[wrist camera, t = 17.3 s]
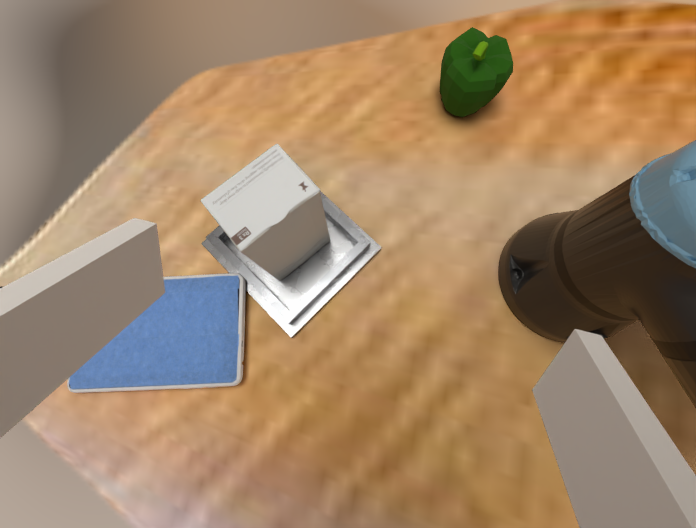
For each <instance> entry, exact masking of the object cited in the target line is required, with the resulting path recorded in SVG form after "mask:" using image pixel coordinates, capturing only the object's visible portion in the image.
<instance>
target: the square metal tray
mask: <svg viewBox="0 0 696 528" xmlns="http://www.w3.org/2000/svg"><path fill="white" fill-rule="evenodd" d="M320 194H321V199H322V203H323V208H324V213H325V218H326V222H327V227H328V231H329V236H330V241H329V242H328V243H327V244H325V245H324V246H323V247H321V248H320V249H319V250H318V251H317V252H316V253H315V254H314V255H312V256H311V257H310V258H309V259H307V260H306V261H305V262H304V263H302V264H301V265H300V266H299V267H297V268H296V269H295V270H294V271H292V272H291V273H290V274H289V275H287V276H286V277H285V278H283V279H282V280H281V281H279V280H277V279H276V278H275V277H273V276H272V275H271V274H269V273H268V272H267V271H265V270H264V269H263V268H261V267H260V266H259V265H257V264H256V263H255V262H253V261H252V260H251V259H249V258H248V257H247V256H245V255H244V254H242V253H241V252H240V251H239V250H238V248H237V247H236V246H235V245H234V243H233V242H232V241H231V239H230V238H229V237H228V236H227V234H226V233H225V232H224V230H223V229H222V228H221V226H220V225H219V226H218V227H217V228H216V229H215V230H214V231H212V232H211V233H210V234H209V235H208V236H207V237H206V238H207V239H206V240H205V241H204V242H202V243H201V244H202V245H203V246H204V247H205V248H206V249H207V250H208V251H209V252H210V253H211V254H212V255H213V256H214V257H215V258H216V259H217V260H218V261H219V262H220V264H221V265H222V266H223V267H224V268H225V269H226V270H227V271H228V272H229V273H239V274H241V275H242V276H243V277H244V278H245V281H246V291H247V292H248V293H249V294H250V295H251V296H252V297H253V298H254V299H255V300H256V301H257V302H258V303H259V304H260V305H261V306H262V308H263V309H264V310H265V311H266V312H267V313H268V314H269V315H270V316H271V317H272V318H273V319H274V320H275V321H276V322H277V323H278V324H279V325H280V326H281V327H282V328H283V330H284V331H285V332H286V333H287V334H288V335H289V336H290V337H291V338H293V337H294V336H295V335H296V334H297V333H298V332H299V331H300V330H301V329H302V328H303V327H304V326H305V325H306V324H307V323H308V322H309V321H310V320H311V319H312V318H313V317H314V316H315V315H316V314H317V313H318V312H319V311H320V310H321V309H322V308H323V307H324V306H325V305H326V304H327V303H328V302H329V301H330V300H331V299H332V298H333V297H334V296H335V295H336V294H337V293H338V292H339V291H340V290H341V289H342V288H343V287H344V286H345V285H346V284H347V283H348V282H349V281H350V280H351V279H352V278H353V277H354V276H355V275H356V274H357V273H358V272H359V271H360V270H361V269H362V268H363V267H364V266H365V265H366V264H367V263H368V262H369V261H370V260H371V259H372V258H373V257H374V256H375V255H376V254H377V253H378V252H379V251H380V250H381V248H382V247H381V246H380V245H378V244H377V243H376V242H375V241H374V240H373V239H372V238H371V237H370V236H369V235H368V234H366V233H365V232H364V231H363V230H362V229H361V228H360V227H359V226H358V225H357V224H356V223H354V222H353V221H352V220H351V219H350V218H349V217H348V216H347V215H346V214H345V213H344V212H343V211H341V210H340V209H339V208H338V207H337V206H336V205H335V204H334V203H333V202H332V201H331V200H329V199H328V198H327V197H326V196H325V195H324V194H323V193H322V192H321V191H320Z"/></svg>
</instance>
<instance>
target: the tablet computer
mask: <svg viewBox="0 0 696 528" xmlns="http://www.w3.org/2000/svg"><path fill="white" fill-rule="evenodd" d="M163 279H164V286H165V293H164V294H163V295H162V296H161V297H160V298H159V299H157V300H156V301H155V302H154V303H153V304H152V305H151V306H149V307H148V308H147V309H146V310H145V311H144V312H143V313H142V314H140V315H139V316H138V317H137V318H136V319H135V320H134V321H132V322H131V323H130V324H129V325H128V326H127V327H126V328H125V329H123V330H122V331H121V332H120V333H119V334H118V335H117V336H116V337H114V338H113V339H112V340H111V341H110V342H109V343H108V344H106V345H105V346H104V347H103V348H102V349H101V350H100V351H99V352H97V353H96V354H95V355H94V356H93V357H92V358H91V359H90V360H88V361H87V362H86V363H85V364H84V365H83V366H82V367H80V368H79V369H78V370H77V371H76V372H75V373H74V374H73V375H71V376H70V377H69V378H68V384H67V386H68V389H69V390H70V391H71V392H74V393H84V392H110V391H134V390H157V389H181V388H183V389H190V388H204V387H210V388H211V387H224V386H236V385H238V384H239V383H240V382H241V380H242V377H243V364H242V362H243V361H244V337H245V290H246V281H245V278H244V277H243V276H242V275H241V274H239V273H228V274H208V275H188V276H169V277H163Z"/></svg>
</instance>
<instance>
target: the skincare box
mask: <svg viewBox="0 0 696 528" xmlns="http://www.w3.org/2000/svg"><path fill="white" fill-rule="evenodd" d="M201 202H202V203H203V204H204V206H205V207H206V208H207V210H208V211H209V212H210V214H211V215H212V216H213V217H214V219H215V220H216V221H217V223H218V224H219V225H220V226H221V228H222V229H223V230H224V232H225V233H226V234H227V236H228V237H229V238H230V239H231V241H232V242H233V243H234V245H235V246H236V247H237V248H238V250H239V251H240V252H241V253H242V254H244V255H245V256H247V257H248V258H249V259H251V260H252V261H253V262H255V263H256V264H257V265H259V266H260V267H261V268H263V269H264V270H265V271H267V272H268V273H269V274H271V275H272V276H273V277H275V278H276V279H277V280H279V281H281V280H282V279H283V278H285V277H286V276H287V275H289V274H290V273H291V272H292V271H294V270H295V269H296V268H297V267H299V266H300V265H301V264H302V263H304V262H305V261H306V260H307V259H309V258H310V257H311V256H312V255H314V254H315V253H316V252H317V251H318V250H319V249H320V248H321V247H323V246H324V245H325V244H327V243H328V242H329V241H330V236H329V231H328V227H327V222H326V218H325V213H324V208H323V203H322V199H321V194H320V189H319V188H318V187H317V186H316V185H315V183H314V182H313V181H312V180H311V179H310V178H309V177H308V176H307V175H306V174H305V172H304V171H303V170H302V169H301V168H300V167H299V166H298V165H297V164H296V163H295V162H294V161H293V160H292V159H291V158H290V156H289V155H288V154H287V153H286V152H285V151H284V150H283V149H282V148H281V147H280V146H279V145H278V144H275V145H274V146H272V147H271V148H270V149H268V150H267V151H266V152H264V153H263V154H262V155H260V156H259V157H258V158H256V159H255V160H254V161H252V162H251V163H250V164H248V165H247V166H246V167H244V168H243V169H242V170H240V171H239V172H237V173H236V174H235V175H233V176H232V177H231V178H229V179H228V180H227V181H225V182H224V183H223V184H221V185H220V186H219V187H217V188H216V189H215V190H213V191H212V192H211V193H209V194H208V195H207V196H205V197H204V198H203V199H201Z"/></svg>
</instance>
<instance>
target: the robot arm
mask: <svg viewBox="0 0 696 528" xmlns="http://www.w3.org/2000/svg"><path fill="white" fill-rule="evenodd" d="M499 282H500V287H501V290H502V293H503V296H504V298H505V300H506V302H507V304H508V306H509V307H510V309H511V310H512V312H513V313H514V314H515V316H516V317H517V318H518V319H519V320H520V321H521V322H522V323H523V324H524V325H526V326H527V327H528V328H530V329H531V330H532V331H534V332H536V333H537V334H539V335H541V336H543V337H546V338H548V339H551V340H555V341H559V342H565V343H564V345H563V346H562V348H561V349H560V351H559V352H558V353H557V355H556V356H555V358H554V359H553V361H552V362H551V364H550V365H549V366H548V368H547V369H546V371H545V372H544V374H543V375H542V376H541V378H540V379H539V381H538V382H537V384H536V385H535V386H534V388H533V389H532V391H533V394H534V397H535V399H536V402H537V405H538V408H539V411H540V414H541V417H542V420H543V423H544V426H545V428H546V431H547V434H548V437H549V440H550V443H551V446H552V449H553V452H554V455H555V457H556V460H557V463H558V466H559V469H560V472H561V475H562V478H563V481H564V483H565V486H566V489H567V492H568V495H569V498H570V501H571V504H572V507H573V510H574V512H575V515H576V518H577V521H578V524H579V527H580V528H696V475H695V474H694V472H693V471H692V469H691V468H690V466H689V465H688V463H687V462H686V460H685V459H684V457H683V456H682V454H681V453H680V451H679V450H678V448H677V447H676V445H675V444H674V442H673V441H672V440H671V438H670V437H669V435H668V434H667V432H666V431H665V429H664V428H663V426H662V425H661V423H660V422H659V420H658V419H657V417H656V416H655V414H654V413H653V411H652V410H651V408H650V407H649V405H648V404H647V402H646V401H645V399H644V398H643V396H642V395H641V393H640V392H639V391H638V389H637V388H636V386H635V385H634V383H633V382H632V380H631V379H630V377H629V376H628V374H627V373H626V371H625V370H624V368H623V367H622V365H621V364H620V362H619V361H618V359H617V358H616V356H615V355H614V353H613V352H612V350H611V349H610V347H609V346H608V344H607V343H606V341H605V340H604V338H607V337H610V336H612V335H614V334H616V333H617V332H619V331H620V330H622V329H624V328H625V327H627V326H629V325H630V324H632V323H634V322H635V321H637V320H640V322H641V323H642V325H643V326H644V328H645V329H646V331H647V332H648V334H649V335H650V337H651V338H652V340H653V341H654V343H655V344H656V346H657V347H658V349H659V350H660V352H661V354H662V356H663V357H664V359H665V361H666V362H667V364H668V365H669V367H670V368H671V370H672V372H673V373H674V375H675V376H676V378H677V379H678V381H679V383H680V384H681V386H682V387H683V389H684V390H685V392H686V393H687V395H688V397H689V398H690V400H691V401H692V403H693V404H694V406H695V408H696V140H695V141H693V142H691V143H689V144H688V145H686V146H684V147H682V148H680V149H678V150H677V151H675V152H673V153H671V154H668V155H665V156H662V157H659V158H657V159H655V160H653V161H651V162H650V163H648V164H647V165H645V166H644V167H643V168H642V169H641V171H639V172H638V173H637V174H636V175H635V176H633V177H631V178H630V179H628V180H626V181H625V182H623V183H622V184H620V185H618V186H617V187H615V188H614V189H612V190H610V191H609V192H607V193H606V194H604V195H602V196H601V197H599V198H597V199H596V200H594V201H592V202H591V203H589V204H587V205H586V206H584V207H583V208H581V209H579V210H575V211H569V212H562V213H555V214H549V215H545V216H542V217H540V218H537V219H535V220H533V221H531V222H530V223H528V224H527V225H525V226H524V227H522V228H521V229H520V230H518V231H517V232H516V233H515V234H514V235H513V236H512V237H511V238H510V239H509V241H508V242H507V243H506V245H505V247H504V249H503V251H502V254H501V257H500V262H499ZM164 293H165V286H164V279H163V271H162V263H161V255H160V247H159V239H158V231H157V223H153V222H149V221H145V220H141V219H137V218H133V219H131V220H129V221H127V222H125V223H123V224H122V225H120V226H118V227H116V228H114V229H112V230H110V231H108V232H106V233H104V234H103V235H101V236H99V237H97V238H95V239H93V240H91V241H89V242H87V243H85V244H84V245H82V246H80V247H78V248H76V249H74V250H72V251H70V252H68V253H67V254H65V255H63V256H61V257H59V258H57V259H55V260H53V261H51V262H49V263H48V264H46V265H44V266H42V267H40V268H38V269H36V270H34V271H32V272H30V273H29V274H27V275H25V276H23V277H21V278H19V279H17V280H15V281H13V282H12V283H10V284H8V285H6V286H4V287H2V286H1V287H0V438H1V437H2V436H4V435H5V434H6V433H7V432H8V431H9V430H10V429H11V428H13V427H14V426H15V425H16V424H17V423H18V422H19V421H20V420H22V419H23V418H24V417H25V416H26V415H27V414H28V413H30V412H31V411H32V410H33V409H34V408H35V407H36V406H37V405H39V404H40V403H41V402H42V401H43V400H44V399H45V398H47V397H48V396H49V395H50V394H51V393H52V392H53V391H54V390H56V389H57V388H58V387H59V386H60V385H61V384H62V383H63V382H65V381H66V380H67V379H68V378H69V377H70V376H71V375H73V374H74V373H75V372H76V371H77V370H78V369H79V368H80V367H82V366H83V365H84V364H85V363H86V362H87V361H88V360H90V359H91V358H92V357H93V356H94V355H95V354H96V353H97V352H99V351H100V350H101V349H102V348H103V347H104V346H105V345H106V344H108V343H109V342H110V341H111V340H112V339H113V338H114V337H116V336H117V335H118V334H119V333H120V332H121V331H122V330H123V329H125V328H126V327H127V326H128V325H129V324H130V323H131V322H132V321H134V320H135V319H136V318H137V317H138V316H139V315H140V314H142V313H143V312H144V311H145V310H146V309H147V308H148V307H149V306H151V305H152V304H153V303H154V302H155V301H156V300H157V299H159V298H160V297H161V296H162V295H163V294H164Z"/></svg>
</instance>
